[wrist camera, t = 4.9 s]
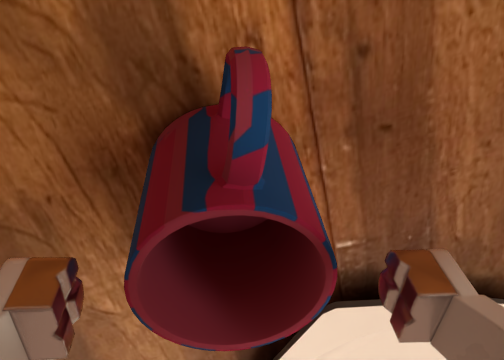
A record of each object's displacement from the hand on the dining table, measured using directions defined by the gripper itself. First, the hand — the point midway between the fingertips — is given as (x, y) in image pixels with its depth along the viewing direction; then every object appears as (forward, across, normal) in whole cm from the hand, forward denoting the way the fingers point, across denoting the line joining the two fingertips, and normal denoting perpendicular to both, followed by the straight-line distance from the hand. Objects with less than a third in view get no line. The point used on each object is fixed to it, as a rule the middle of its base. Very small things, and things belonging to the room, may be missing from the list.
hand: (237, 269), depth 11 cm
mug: (+8, 0, 0) cm, 8 cm away
